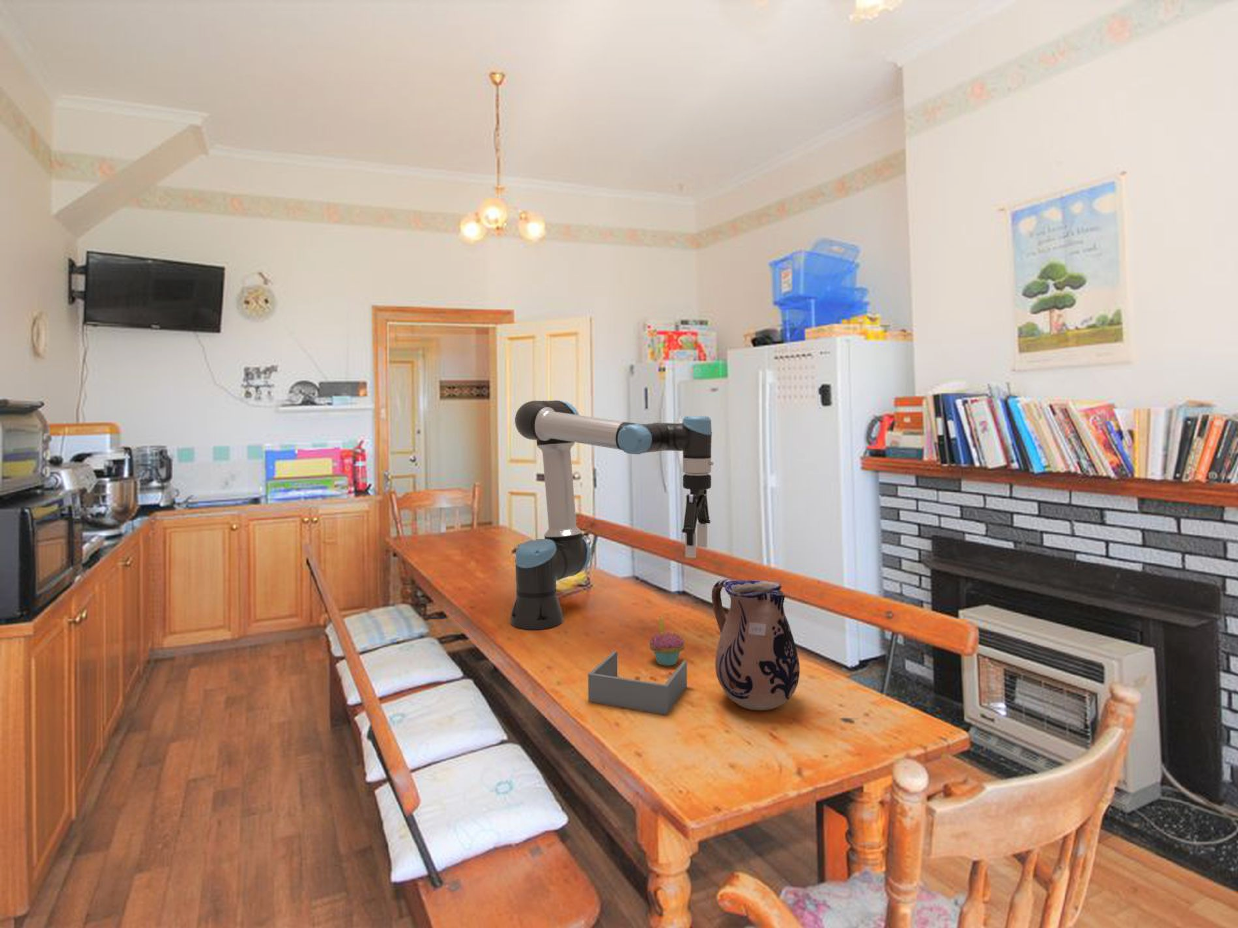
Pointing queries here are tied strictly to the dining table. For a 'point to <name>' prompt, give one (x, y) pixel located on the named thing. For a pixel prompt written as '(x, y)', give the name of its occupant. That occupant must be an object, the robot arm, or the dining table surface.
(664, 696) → the box
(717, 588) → the ceramic pitcher
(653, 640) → the cupcake
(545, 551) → the robot arm
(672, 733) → the dining table surface
